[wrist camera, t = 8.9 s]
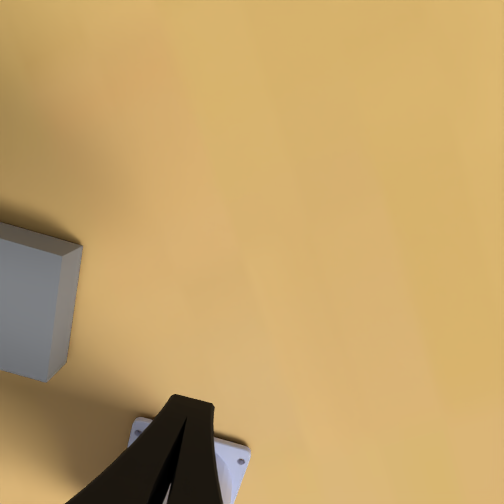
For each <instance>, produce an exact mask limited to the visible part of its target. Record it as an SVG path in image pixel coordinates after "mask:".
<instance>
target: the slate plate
mask: <svg viewBox="0 0 504 504" xmlns="http://www.w3.org/2000/svg"><path fill="white" fill-rule="evenodd" d="M82 249H83V246H82V245H79V244H75V243H72V242H68V241H65V240H61V239H58V238H54V237H51V236H47V235H44V234H40V233H37V232H33V231H30V230H27V229H23V228H20V227H16V226H13V225H9V224H6V223H2V222H0V370H3V371H6V372H10V373H13V374H17V375H21V376H24V377H28V378H31V379H35V380H38V381H42V382H46V383H47V382H48V381H49V380H50V379H51V378H52V377H53V376H54V375H55V374H56V373H57V372H58V371H59V370H60V368H61V367H62V366H63V365H64V364H65V363H66V362H67V355H68V348H69V341H70V334H71V327H72V320H73V313H74V306H75V299H76V292H77V285H78V278H79V271H80V264H81V257H82Z"/></svg>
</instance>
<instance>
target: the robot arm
mask: <svg viewBox="0 0 504 504" xmlns="http://www.w3.org/2000/svg"><path fill="white" fill-rule="evenodd" d="M214 408H215V407H214V406H213V404H212V403H208V402H205V401H201V400H197V399H193V398H189V397H185V396H181V395H177V394H174V395H172V396H171V397H170V398H169V400H168V401H167V403H166V404H165V406H164V407H163V408H162V410H161V411H160V412H159V413H158V415H157V416H156V417H155V418H154V420H151V419H147V418H144V417H138V418H136V419H135V421H134V423H133V424H132V429H131V433H130V438H129V442H128V447H127V449H126V450H125V451H124V452H123V453H122V454H121V455H120V456H119V457H118V458H117V459H116V460H115V461H114V462H113V463H112V464H111V465H110V466H109V467H108V468H106V469H105V470H104V471H103V472H102V473H101V474H100V475H99V476H98V477H96V478H95V479H94V480H93V481H92V482H91V483H90V484H88V485H87V486H86V487H85V488H84V489H82V490H81V491H80V492H79V493H78V494H76V495H75V496H74V497H73V498H71V499H70V500H69V501H68V502H66V503H65V504H234V501H235V499H236V496H237V493H238V490H239V488H240V485H241V482H242V479H243V477H244V474H245V471H246V468H247V466H248V463H249V460H250V457H251V450H250V448H249V447H247V446H244V445H240V444H237V443H233V442H230V441H226V440H222V439H219V438H215V437H214V431H213V418H214ZM138 430H140V431H141V432H140V431H138ZM240 459H243V460H240Z"/></svg>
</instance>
